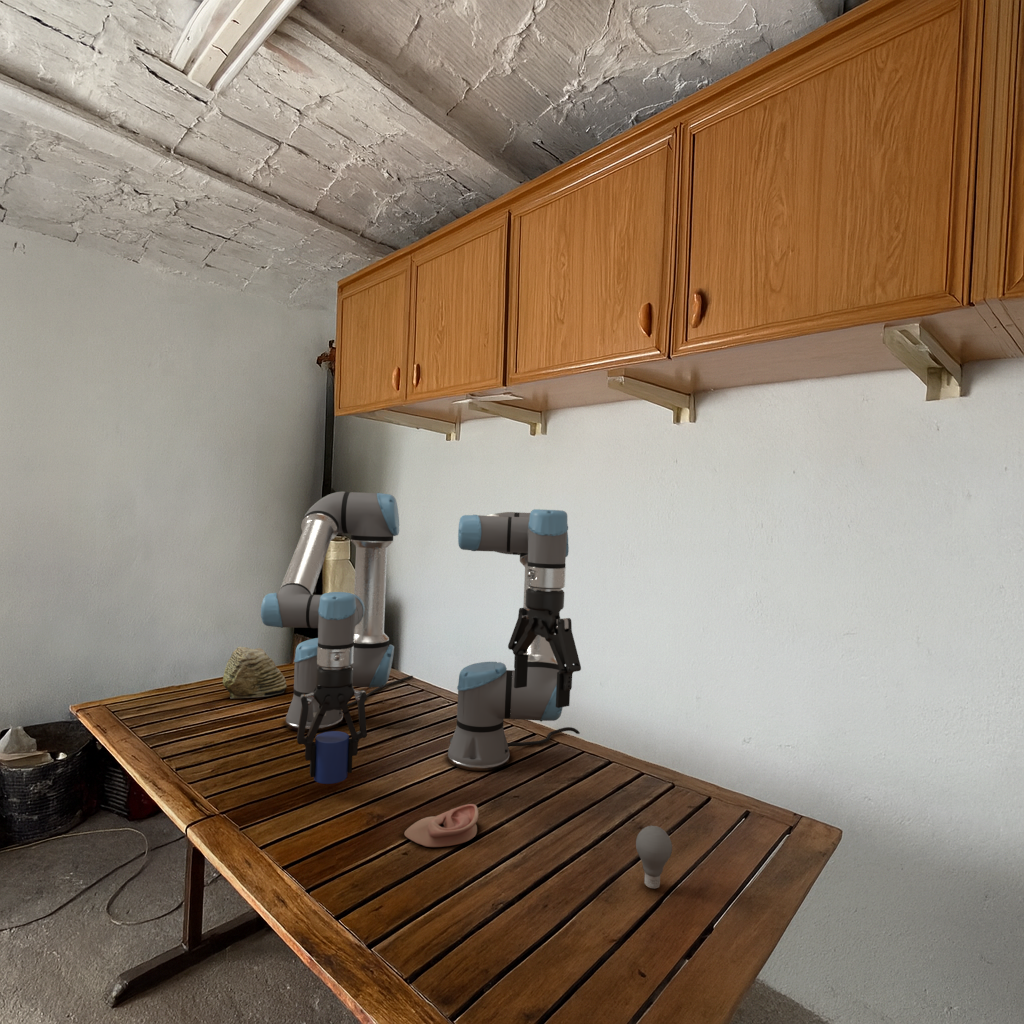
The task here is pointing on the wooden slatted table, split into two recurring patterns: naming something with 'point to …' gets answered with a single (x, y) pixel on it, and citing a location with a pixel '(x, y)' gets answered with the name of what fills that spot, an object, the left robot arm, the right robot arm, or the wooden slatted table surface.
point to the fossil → (252, 674)
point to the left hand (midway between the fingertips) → (330, 772)
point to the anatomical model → (445, 827)
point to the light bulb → (653, 853)
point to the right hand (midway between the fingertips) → (540, 696)
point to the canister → (331, 757)
